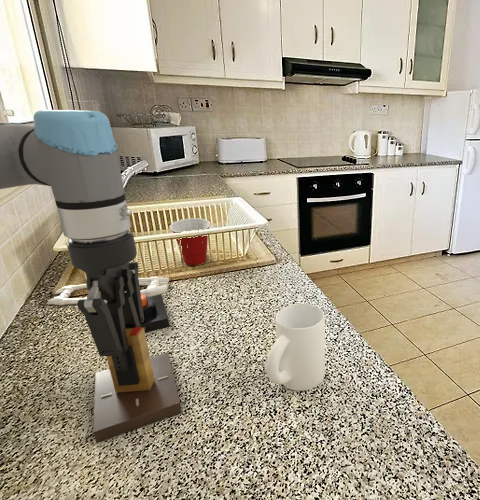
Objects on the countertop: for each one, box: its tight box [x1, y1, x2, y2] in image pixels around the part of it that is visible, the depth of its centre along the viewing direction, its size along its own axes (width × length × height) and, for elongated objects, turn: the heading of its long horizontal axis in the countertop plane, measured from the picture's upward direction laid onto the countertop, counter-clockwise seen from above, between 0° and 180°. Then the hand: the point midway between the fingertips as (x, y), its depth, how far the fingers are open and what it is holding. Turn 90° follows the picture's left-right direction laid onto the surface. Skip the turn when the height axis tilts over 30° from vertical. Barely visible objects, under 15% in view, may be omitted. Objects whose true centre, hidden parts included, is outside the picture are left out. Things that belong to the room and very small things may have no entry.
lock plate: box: [92, 352, 183, 444], centre depth 59 cm, size 14×11×2 cm
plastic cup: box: [168, 217, 212, 266], centre depth 107 cm, size 11×11×12 cm
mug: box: [265, 303, 326, 392], centre depth 61 cm, size 8×12×12 cm
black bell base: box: [140, 293, 171, 334], centre depth 80 cm, size 12×10×4 cm
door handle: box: [46, 276, 170, 306], centre depth 89 cm, size 3×10×25 cm
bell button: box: [141, 294, 147, 307], centre depth 79 cm, size 4×4×2 cm
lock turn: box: [105, 327, 155, 393], centre depth 57 cm, size 5×2×10 cm, turn 98°
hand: (133, 376), depth 58 cm, fingers closed on lock turn, 2 cm apart
